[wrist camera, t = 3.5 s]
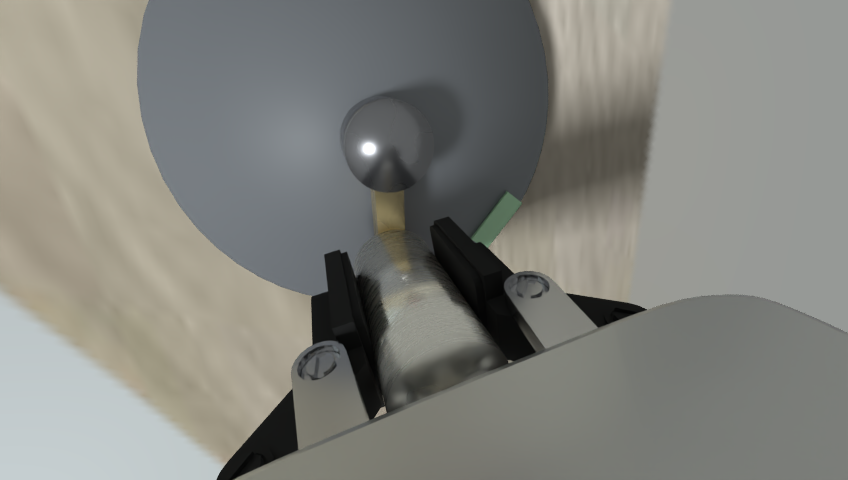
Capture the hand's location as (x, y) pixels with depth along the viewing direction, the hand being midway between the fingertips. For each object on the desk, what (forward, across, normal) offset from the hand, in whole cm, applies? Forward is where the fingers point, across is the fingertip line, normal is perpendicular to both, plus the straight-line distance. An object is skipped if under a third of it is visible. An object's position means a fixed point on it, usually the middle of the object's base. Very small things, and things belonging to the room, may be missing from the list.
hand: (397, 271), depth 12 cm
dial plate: (+4, -1, -4) cm, 6 cm away
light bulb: (+2, 0, -2) cm, 2 cm away
